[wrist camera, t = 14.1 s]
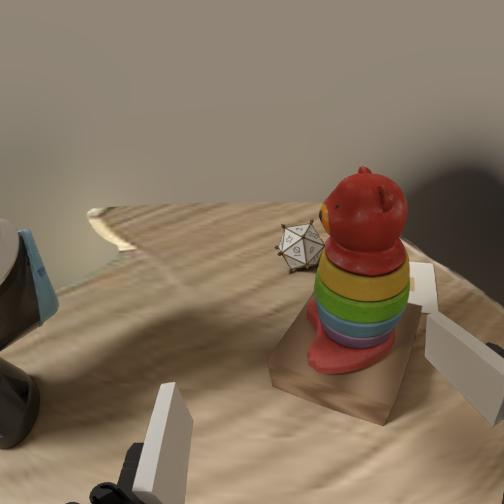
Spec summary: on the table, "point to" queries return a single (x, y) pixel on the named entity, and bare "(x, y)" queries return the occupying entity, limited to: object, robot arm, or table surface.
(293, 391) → the tower base
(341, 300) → the stacking bear
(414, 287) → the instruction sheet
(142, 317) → the table surface
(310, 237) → the game die
